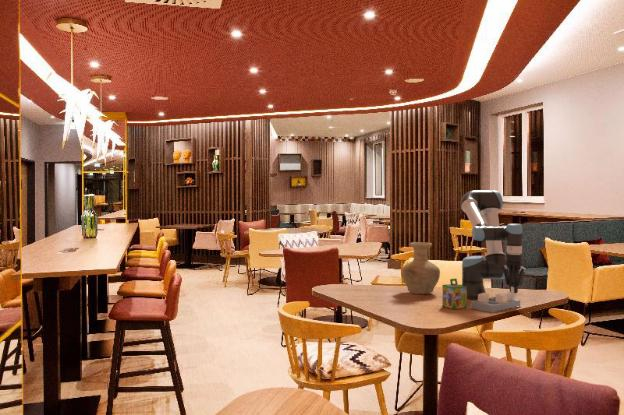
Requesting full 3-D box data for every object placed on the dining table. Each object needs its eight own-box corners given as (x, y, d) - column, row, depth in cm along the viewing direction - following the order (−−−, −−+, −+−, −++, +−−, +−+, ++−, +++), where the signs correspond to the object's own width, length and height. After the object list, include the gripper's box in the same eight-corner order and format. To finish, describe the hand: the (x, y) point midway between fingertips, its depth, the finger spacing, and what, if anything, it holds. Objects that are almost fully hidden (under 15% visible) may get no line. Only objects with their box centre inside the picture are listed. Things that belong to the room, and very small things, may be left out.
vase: (397, 295, 309) (398, 244, 308) (405, 289, 329) (405, 241, 329) (437, 298, 301) (437, 245, 300) (442, 291, 322) (442, 242, 321)
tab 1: (484, 306, 271) (484, 293, 271) (477, 304, 274) (477, 292, 274) (488, 305, 273) (488, 293, 273) (482, 303, 276) (482, 292, 276)
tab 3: (509, 304, 275) (510, 292, 275) (503, 303, 278) (503, 291, 278) (513, 303, 277) (514, 291, 277) (507, 302, 280) (507, 290, 280)
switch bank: (492, 312, 263) (492, 305, 263) (470, 308, 274) (470, 300, 274) (520, 306, 278) (520, 299, 278) (498, 302, 288) (498, 295, 288)
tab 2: (502, 306, 270) (502, 294, 270) (495, 304, 274) (495, 293, 274) (506, 305, 273) (506, 293, 272) (499, 304, 276) (500, 292, 276)
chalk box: (454, 309, 270) (454, 280, 269) (441, 306, 278) (441, 278, 277) (467, 308, 274) (467, 279, 274) (454, 304, 282) (455, 277, 282)
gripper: (498, 253, 278) (498, 297, 278) (521, 255, 267) (520, 302, 268) (507, 252, 282) (506, 296, 283) (529, 254, 272) (529, 300, 272)
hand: (513, 298), depth 275 cm, fingers closed
